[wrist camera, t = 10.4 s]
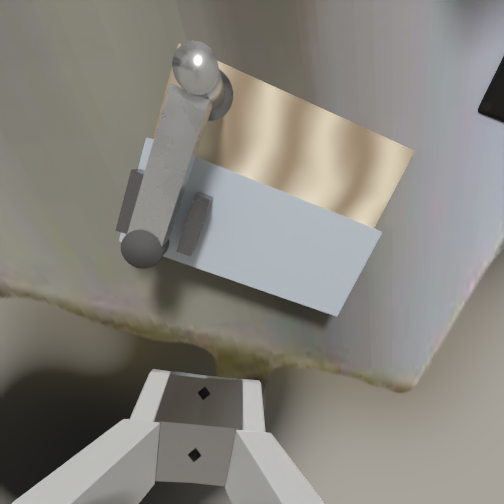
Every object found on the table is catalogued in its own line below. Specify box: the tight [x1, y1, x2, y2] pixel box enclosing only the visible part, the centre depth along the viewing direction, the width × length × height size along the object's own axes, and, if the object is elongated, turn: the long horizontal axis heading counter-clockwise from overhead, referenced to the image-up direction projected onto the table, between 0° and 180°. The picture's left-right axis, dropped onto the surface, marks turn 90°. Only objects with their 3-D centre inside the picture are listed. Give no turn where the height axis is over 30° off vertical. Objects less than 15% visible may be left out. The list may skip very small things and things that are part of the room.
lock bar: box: [121, 41, 225, 268], centre depth 26 cm, size 18×3×8 cm, turn 158°
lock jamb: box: [116, 43, 415, 317], centre depth 30 cm, size 26×20×6 cm
